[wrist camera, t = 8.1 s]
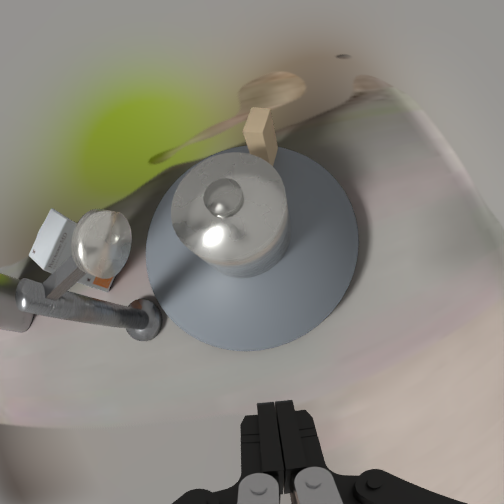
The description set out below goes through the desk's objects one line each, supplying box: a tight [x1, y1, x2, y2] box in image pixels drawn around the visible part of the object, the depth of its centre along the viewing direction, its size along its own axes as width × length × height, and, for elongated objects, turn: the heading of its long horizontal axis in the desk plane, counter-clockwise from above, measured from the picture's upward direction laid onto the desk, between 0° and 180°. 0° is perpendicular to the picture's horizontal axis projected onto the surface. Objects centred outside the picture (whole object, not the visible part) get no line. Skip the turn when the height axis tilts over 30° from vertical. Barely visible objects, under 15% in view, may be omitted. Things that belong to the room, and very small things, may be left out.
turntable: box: [146, 107, 359, 351], centre depth 28 cm, size 24×24×9 cm
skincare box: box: [29, 208, 116, 292], centre depth 29 cm, size 6×4×12 cm
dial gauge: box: [15, 209, 162, 341], centre depth 24 cm, size 8×10×18 cm
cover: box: [171, 152, 291, 278], centre depth 27 cm, size 10×10×8 cm
